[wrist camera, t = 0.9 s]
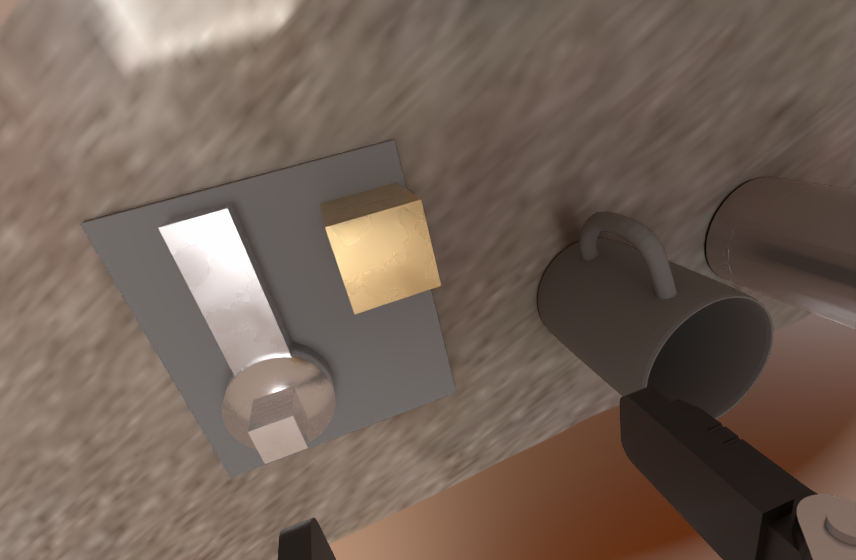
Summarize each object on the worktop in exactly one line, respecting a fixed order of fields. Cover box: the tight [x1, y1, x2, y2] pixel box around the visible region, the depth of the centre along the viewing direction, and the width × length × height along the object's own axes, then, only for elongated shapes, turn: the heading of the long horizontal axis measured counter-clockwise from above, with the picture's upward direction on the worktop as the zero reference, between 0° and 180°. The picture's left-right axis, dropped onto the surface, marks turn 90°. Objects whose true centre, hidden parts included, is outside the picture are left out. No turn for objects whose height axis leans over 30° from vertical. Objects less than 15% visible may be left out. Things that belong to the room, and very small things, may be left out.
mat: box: [80, 140, 456, 477], centre depth 29 cm, size 18×20×1 cm
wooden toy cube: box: [320, 182, 441, 314], centre depth 25 cm, size 5×5×6 cm
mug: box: [538, 212, 773, 419], centre depth 29 cm, size 14×9×12 cm
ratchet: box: [159, 202, 336, 464], centre depth 25 cm, size 7×16×6 cm, turn 13°
